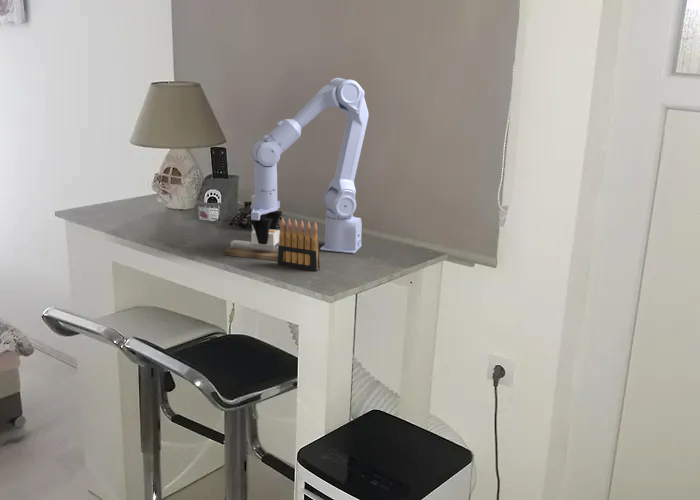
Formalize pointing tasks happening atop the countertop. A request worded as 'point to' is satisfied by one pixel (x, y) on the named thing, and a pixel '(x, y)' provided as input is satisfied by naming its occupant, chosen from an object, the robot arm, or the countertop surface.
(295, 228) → the ammunition clip
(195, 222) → the countertop surface
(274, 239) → the block
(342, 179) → the robot arm
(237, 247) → the rail
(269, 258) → the board
